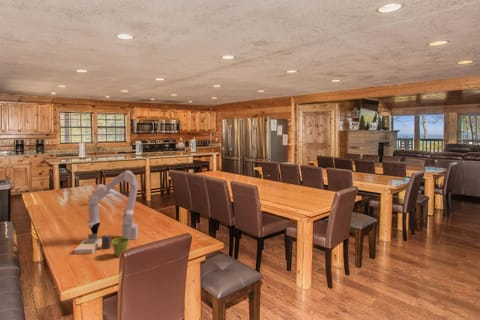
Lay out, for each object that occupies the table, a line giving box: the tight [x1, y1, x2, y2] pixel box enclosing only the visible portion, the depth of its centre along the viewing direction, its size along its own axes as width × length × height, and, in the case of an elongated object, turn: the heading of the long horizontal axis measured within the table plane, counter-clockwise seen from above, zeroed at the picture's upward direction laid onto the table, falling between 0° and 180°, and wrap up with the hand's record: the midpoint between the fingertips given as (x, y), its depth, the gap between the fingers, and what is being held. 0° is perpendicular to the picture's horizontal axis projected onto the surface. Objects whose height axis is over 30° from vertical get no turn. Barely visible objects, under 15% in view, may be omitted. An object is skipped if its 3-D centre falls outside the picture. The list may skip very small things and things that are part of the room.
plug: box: [101, 233, 112, 250], centre depth 187 cm, size 4×4×8 cm
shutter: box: [82, 233, 99, 243], centre depth 191 cm, size 6×7×3 cm
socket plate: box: [73, 237, 102, 255], centre depth 188 cm, size 10×18×2 cm, turn 6°
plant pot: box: [111, 237, 130, 258], centre depth 177 cm, size 9×9×9 cm
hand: (95, 235), depth 197 cm, fingers closed
